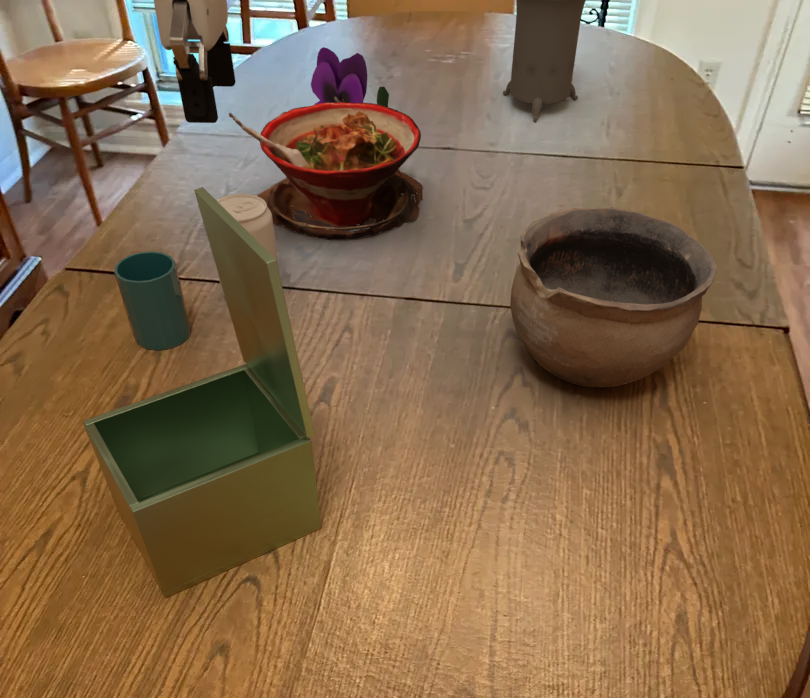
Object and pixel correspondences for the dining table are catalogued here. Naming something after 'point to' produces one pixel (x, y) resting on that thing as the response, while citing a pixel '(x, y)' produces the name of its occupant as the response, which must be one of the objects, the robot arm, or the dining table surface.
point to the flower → (342, 79)
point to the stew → (341, 168)
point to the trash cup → (153, 300)
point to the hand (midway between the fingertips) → (212, 102)
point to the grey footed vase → (544, 51)
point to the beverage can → (252, 219)
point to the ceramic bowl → (607, 293)
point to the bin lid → (257, 308)
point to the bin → (207, 476)
